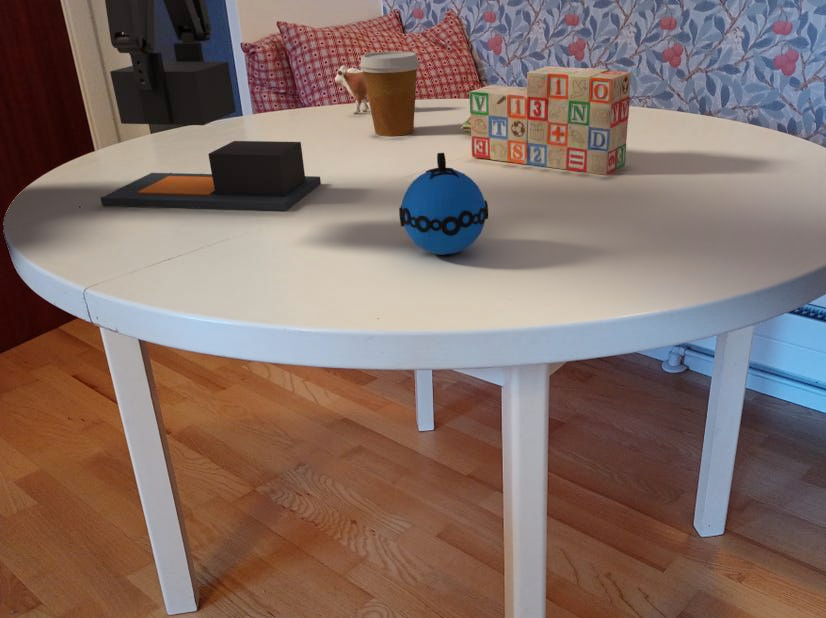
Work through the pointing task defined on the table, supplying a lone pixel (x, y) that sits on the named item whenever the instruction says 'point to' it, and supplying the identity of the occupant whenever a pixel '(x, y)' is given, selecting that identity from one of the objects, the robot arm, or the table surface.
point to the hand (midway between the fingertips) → (179, 114)
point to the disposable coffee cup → (391, 90)
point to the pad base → (202, 201)
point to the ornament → (443, 210)
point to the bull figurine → (354, 85)
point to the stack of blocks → (555, 120)
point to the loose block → (180, 93)
